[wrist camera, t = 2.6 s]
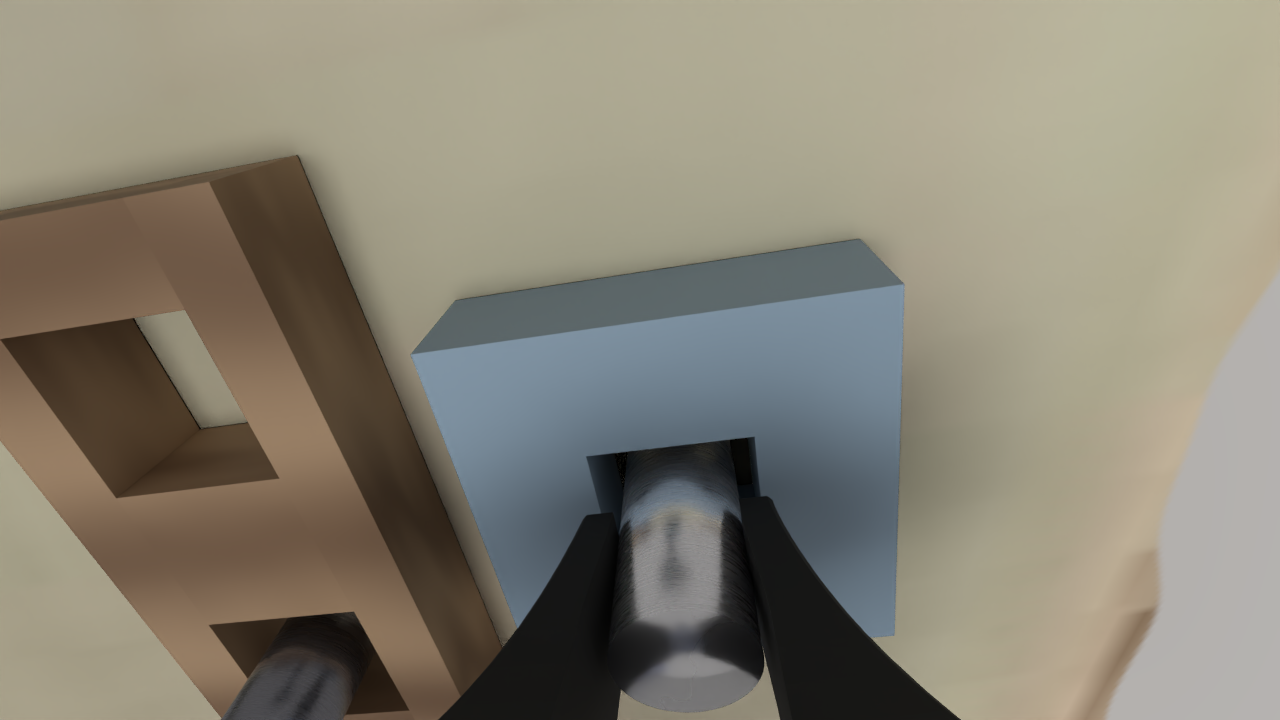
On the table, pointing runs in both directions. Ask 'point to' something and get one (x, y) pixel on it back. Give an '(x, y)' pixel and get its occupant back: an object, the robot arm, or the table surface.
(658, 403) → the socket block
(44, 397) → the rack
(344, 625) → the black pin
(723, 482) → the steel pin
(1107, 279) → the table surface
